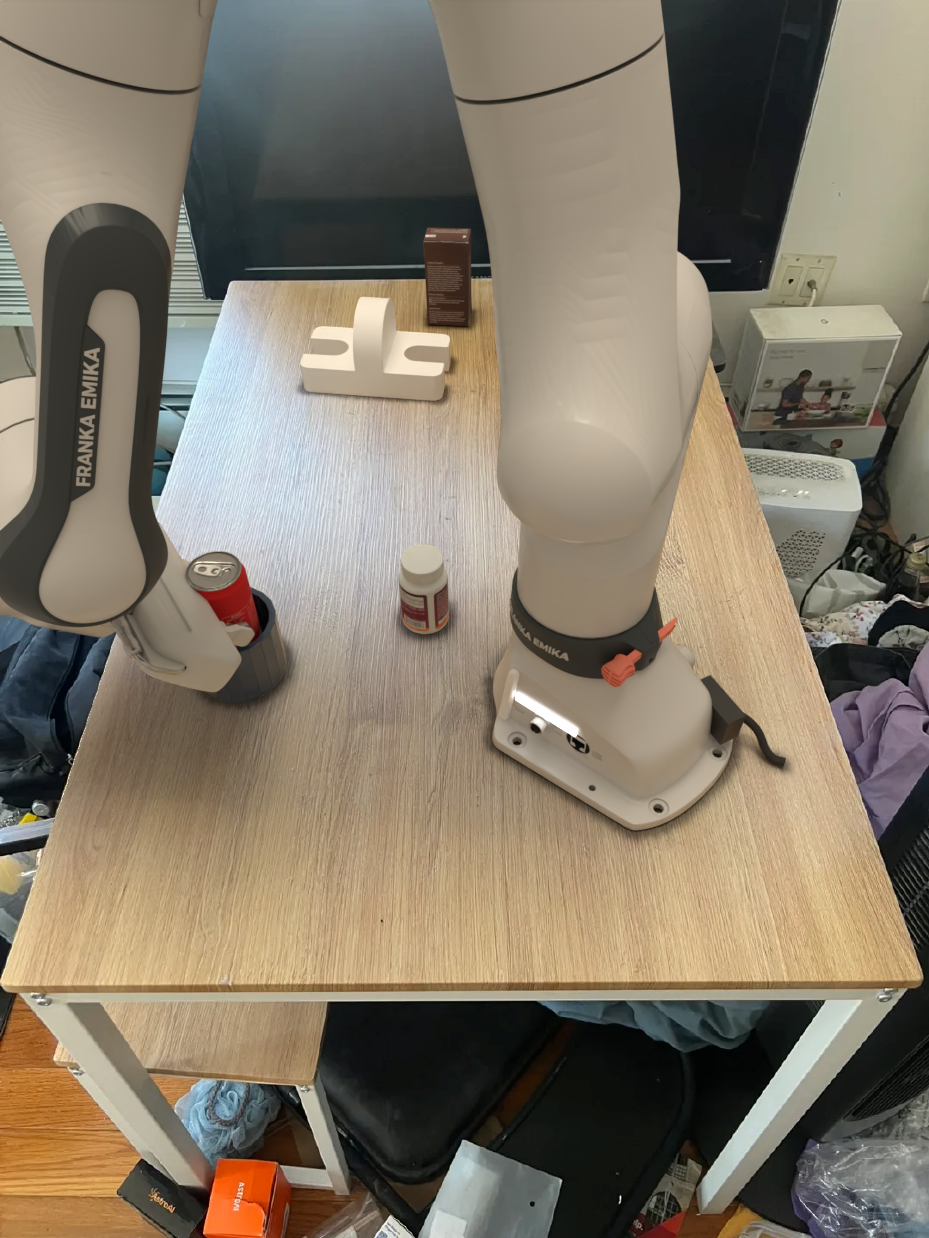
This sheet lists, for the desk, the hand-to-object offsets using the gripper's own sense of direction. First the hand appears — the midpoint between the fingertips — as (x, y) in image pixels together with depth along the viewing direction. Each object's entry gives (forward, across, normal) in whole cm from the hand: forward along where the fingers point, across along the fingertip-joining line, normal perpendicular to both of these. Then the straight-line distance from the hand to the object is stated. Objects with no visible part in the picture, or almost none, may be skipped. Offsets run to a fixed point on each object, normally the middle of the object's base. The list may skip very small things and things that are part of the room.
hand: (233, 611), depth 81 cm
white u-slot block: (+29, +36, -18) cm, 50 cm away
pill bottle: (+18, -4, -7) cm, 19 cm away
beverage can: (+4, 0, +5) cm, 7 cm away
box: (+40, +42, -29) cm, 65 cm away
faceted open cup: (+5, 0, +6) cm, 8 cm away
